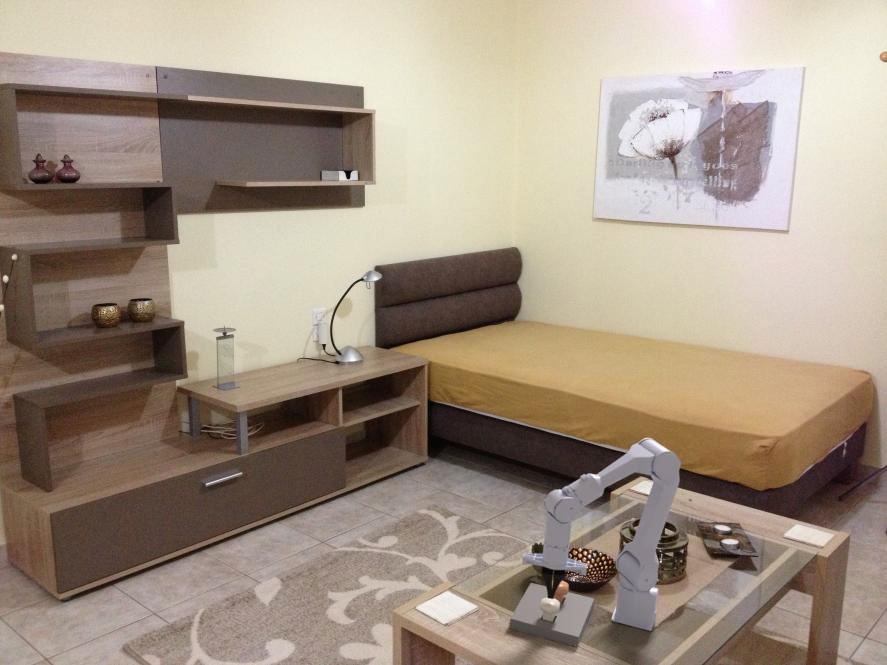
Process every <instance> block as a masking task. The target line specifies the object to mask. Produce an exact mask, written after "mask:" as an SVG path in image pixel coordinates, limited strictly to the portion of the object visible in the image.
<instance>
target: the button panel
mask: <svg viewBox="0 0 887 665" xmlns="http://www.w3.org/2000/svg"><path fill="white" fill-rule="evenodd" d="M543 598H548V595H547V588H546V585H541V584H538V583H533V582H530V584H529V585H528V587H527V588H526V590H525V592H524V594H523V596H522V598H520V601H519V602H518V605H517V606H516V607H515V609H514V612H513V613H512V614H511V617H510V618H509V629H510V630H515V631H517V632H518V631H519V632H522V633H526V634H529V635H532V636H537V637H540V638H544V639H547V640H550V641H555V642H559V643H563V644H565V643H566V645H570V644H571V645H570V646H572V645H576V646H578V647H579V645H580V642H581V639H582V637H583V634H584V633H585V630H586V627H587V624H588V622H589V619H590V618H591V614H592V612H593V609H594V605H595V598H594V597H593V598H592V597H589V596H585V595H580V594H577V593H573V592H569V591H568V593H567V594H566V595H564V599H563V601H562V603H560V609H559V612H558V613H556V614H555V618H554V620H553V622H550V621H547V620H543V611H542V610H541V609H540V606H541V600H542V599H543ZM578 644H579V645H578ZM576 646H575V647H576Z"/></svg>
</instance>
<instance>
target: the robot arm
mask: <svg viewBox="0 0 887 665" xmlns="http://www.w3.org/2000/svg"><path fill="white" fill-rule="evenodd" d="M681 466H682V461H681V460H680V458H679V457H678V456H677V454H676V453H675V452H673V451H672V450H669V449H668V448H666V447H665V446H664V445H662V444H660V443H659V442H658V441H656V440H655V439H654V438H651V437H645V438H642V439H641V440H639V441H638V442H636V443H634V444H631V447H630V448H629V450H628V451H627V453H625V454H624V455H622V456H620V457H619V458H618V459H616V460H615V461H614V462H612V463H611V464H610V465H608V466H606V467H605V468H603V469H602V470H601V471H599V472H598V473H597V474H594V473H589V472H588V473H587V474H585V473H583V474H582V475H580V478H579V479H577V480H575V481H573V482H572V483H570V484H568V485H566V486H564V487H562V489H560V488H559V489H553V490H551V491H550V492H549V493H548V494H547V495H546V497H545V499H543V502H542V503H543V507H544V509H545V510H546V522H545V531H544V538H543V544H544V548H543V554H532V553H528V552H524V553H523V554H522V562H521V565H524V566H527V565H532V566H533V565H537V566H542V571H541V573H542V576H543V579H542V580H543V581H544V584H545V586H546V588H547V595H548V598H549V599H554V595H555V592H556V590H557V588H558V586H559V584H560V583H561V581H564V578H565V577H566V571H567V572H573V573H578V574H580V575H581V576H586V575H587V570H588V563H586V562H580V561H578V560H575V559H572V558H569V552H570V543H571V534H572V525H573V521H574V520H575V519H576V518H577V517H578V514H579V512H581V511H582V509H583V508H584V507H585V506H587V505H589V504H591V503H592V502H594V501H595V500H597V499H599V498H601V497H602V496H603V494H604V491H605V489H606V488H607V487H609V486H611V485H613V484H615V483H617V482H619V481H620V480H622V479H623V480H624V479H625V478H627V477H629V476H630V475H632V474H635V473H636V474H640V475H641V474H643V475H647V476H650V477H651V479H652V480H653V483H652V486H651V488H650V492H649V494H648V496H647V497H648V498H647V499H646V503H645V505H644V509H643V511H642V514H641V517H640V519H639V523H638V525H637V528H636V532H635V534H634V537H633V540H632V541H630V542H628V543H625V544H624V547H623V550H622V551H621V552H620V553H619V554H618V556H617V557H616V560H615V568H616V570H617V571H618V572H619V576H618V578H619V581H618V582H619V583H618V590H617V598H616V605H615V607H614V609H613V613H612V616H611V619H610V621H611V622H614V623H619V624H623V625H627V626H630V627H634V628H638V629H642V630H646V631H653V626H654V622H655V620H656V619H657V613H658V612H657V605H658V599H659V591H660V590H659V588H657V587H655V586H656V585H657V582H658V577H659V576H658V575H659V574H658V573H659V572H658V570H659V567H660V561H659V559H658V555H657V551H656V550H657V548H658V545H659V542H660V540H661V536H662V533H663V530H664V527H665V525H666V523H667V519H668V516H669V513H670V510H671V508H672V505H673V502H674V499H675V496H676V494H677V491H678V488H679V485H680V469H681ZM553 569H554V571H553ZM552 581H553V587H552Z"/></svg>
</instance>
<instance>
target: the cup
mask: <svg viewBox="0 0 887 665" xmlns="http://www.w3.org/2000/svg"><path fill="white" fill-rule="evenodd" d="M543 548H544V543H542V542H541V541H540V542H539V543H538V542H534V544H531V550H530V551H531V554H543ZM532 568H533V569H534V571H535V575H536V576H537V578H539V579H541V580H544V579H543V576H542V573H541V571H542V566H537V565H532ZM554 571H555V570H554V569H553V572H554Z"/></svg>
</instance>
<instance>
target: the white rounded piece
mask: <svg viewBox="0 0 887 665" xmlns="http://www.w3.org/2000/svg"><path fill="white" fill-rule="evenodd" d="M540 609H541V610H542V611H543V620H547V621H550V622H553V620H554V618H555V614H556V613H558V612H559V609H560V602H559V601H558V600H556V599H549V598H543V599H542V600H541V606H540Z"/></svg>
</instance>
